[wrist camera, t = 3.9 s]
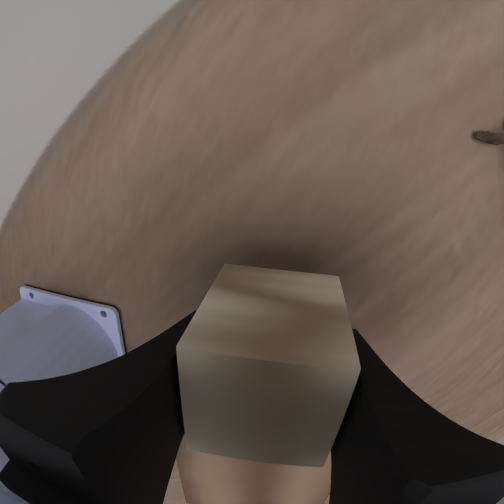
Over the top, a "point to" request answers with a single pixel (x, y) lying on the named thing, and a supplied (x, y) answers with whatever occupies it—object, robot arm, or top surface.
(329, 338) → the birch block
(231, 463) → the walnut plinth
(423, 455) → the robot arm
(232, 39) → the top surface
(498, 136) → the lion figurine
